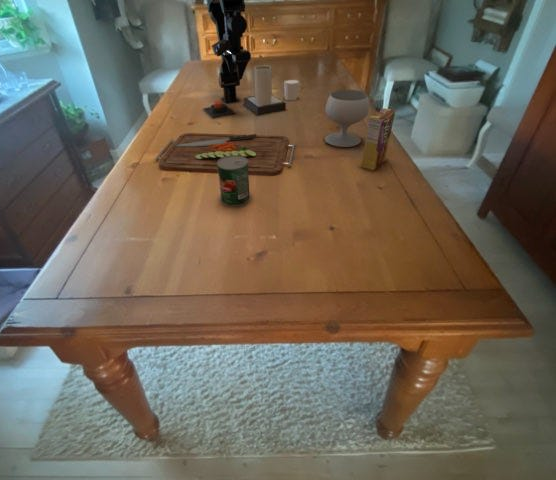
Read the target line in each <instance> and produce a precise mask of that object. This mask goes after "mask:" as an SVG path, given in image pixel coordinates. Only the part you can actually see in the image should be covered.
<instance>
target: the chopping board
mask: <svg viewBox="0 0 556 480" xmlns="http://www.w3.org/2000/svg"><path fill="white" fill-rule="evenodd" d="M170 145H171V146H170ZM169 146H170V147H169ZM295 147H296V143H295V142H294V143H292V144H290V139H289V138H288V136H284V135H264V134H263V135H262V134H256V133H254V134H237V133H235V134H234V133H233V134H232V133H203V132H202V133H201V132H186V133H182V134H180V135H179V136H177V138H176V140H174V139H173V138H171V139H170V140H169V141H168V143H166V145H165V146H164V147H163V148H162V149H161V150H160V152H159V153H158V154H157V156H156V157H155V158H154V161H155V162H156V161H158V163H157V164H158V167H159V169H160V170H163V171H172V172H173V171H174V172H175V171H176V172H192V173H193V172H195V173H212V174H213V173H214V174H219V173H218V165H217V162H218V160H219V159H221V158H223V157H225V156H230V155H239V156H243V157H245V158H247V160H248V175H251V176H277V175H280V174H282V173H283V171H284V166H285V165H287V167H288V168H291V167H292V162H293V157H294V152H295ZM289 148H291V150H290V155H289V160H288V162H286V157H287V153H288V149H289ZM166 150H167V151H166ZM165 151H166V152H165ZM164 152H165V153H164ZM163 153H164V154H163Z"/></svg>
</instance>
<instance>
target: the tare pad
mask: <svg viewBox="0 0 556 480" xmlns="http://www.w3.org/2000/svg"><path fill="white" fill-rule="evenodd" d="M222 104H223V107H220V108H215V107H214V103H213V104H211V105H210V106H209V107H203V109H202V110H203V111H204V112H205V113H206V114H207V115H208V116H209V117H210V118H211V119H217V118H223V117H227V116H232V115H236V112H235V111H234V110H232V109H231V108H230V107H228V105H226V103H222Z"/></svg>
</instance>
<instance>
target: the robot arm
mask: <svg viewBox="0 0 556 480" xmlns="http://www.w3.org/2000/svg"><path fill="white" fill-rule="evenodd" d="M206 8H207V12H208V13H209V18H210V20H211V21H212V23H213V24H214V25H215V29H216V30H215V31H216V35H217V42H215V43H213V44H212V45H211V49H212V51H213V54H214V56H216V57H220V59H221V64H220V68H219V74H218V86H219V87H220V88H221V89H222V92H223V97H222V98H221V100H222V102H224V103H225V104H229V103H234V102H239V101H240V98H238V97H237V87H239V86H240V85H241V80H243V77H244V74H245V71H246V69H247V66H248V64H249V62H250V61H251V60H252V53H251V52H250V51H249V50H247V49H244V46H243V45H242V38H243V37H244V35H243V34H244V33H245V32H246V30H247V28H248V22H247V19H246V18H245V16H243V15H242V13H245V12H246V3H245V0H207V1H206Z"/></svg>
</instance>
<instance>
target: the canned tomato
mask: <svg viewBox="0 0 556 480" xmlns="http://www.w3.org/2000/svg"><path fill="white" fill-rule="evenodd" d="M217 165H218V173H217V174H218V181H219V189H220V199H221V203H222V204H223V205H224V206H227V207H234V208H235V207H241V206H244V205H246V204H248V202H249V201H250V199H251V197H250V196H251V195H250V179H249V174H248V160H247V158H245V157H243V156H239V155H230V156H225V157H223V158H221V159H219V160H218V162H217Z"/></svg>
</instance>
